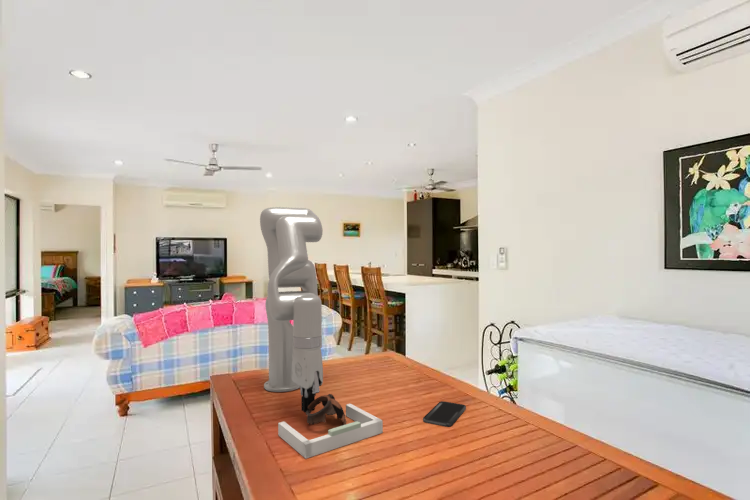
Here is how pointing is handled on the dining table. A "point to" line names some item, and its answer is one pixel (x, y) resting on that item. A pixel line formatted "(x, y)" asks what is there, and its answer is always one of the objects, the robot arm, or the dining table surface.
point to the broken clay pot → (325, 410)
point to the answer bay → (334, 433)
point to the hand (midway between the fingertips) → (308, 410)
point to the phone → (444, 414)
